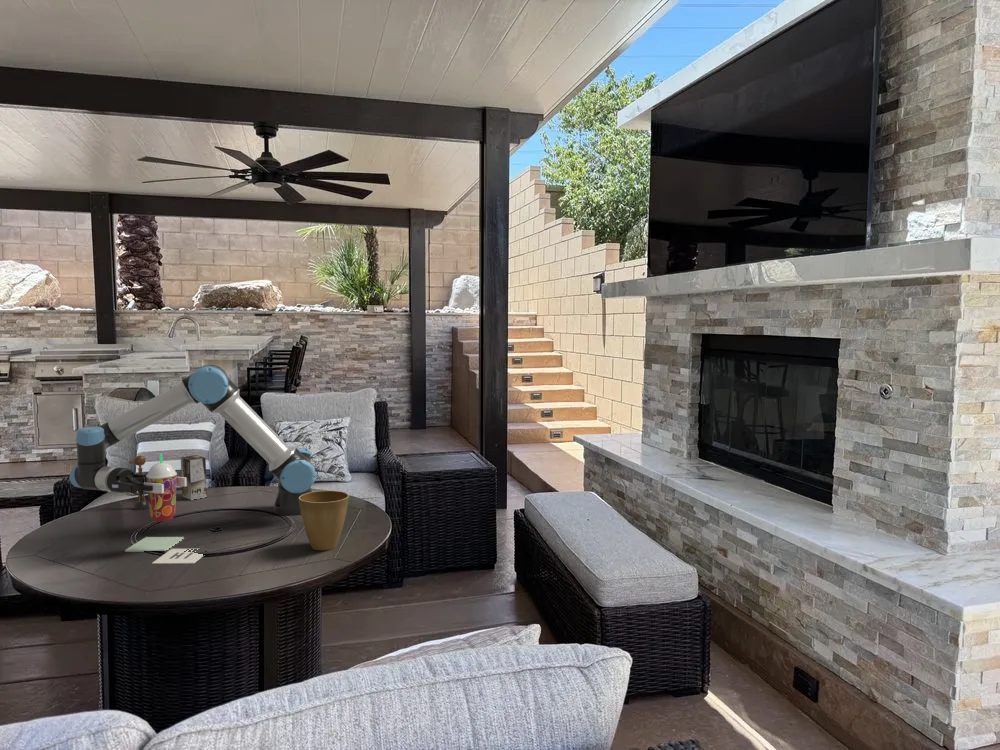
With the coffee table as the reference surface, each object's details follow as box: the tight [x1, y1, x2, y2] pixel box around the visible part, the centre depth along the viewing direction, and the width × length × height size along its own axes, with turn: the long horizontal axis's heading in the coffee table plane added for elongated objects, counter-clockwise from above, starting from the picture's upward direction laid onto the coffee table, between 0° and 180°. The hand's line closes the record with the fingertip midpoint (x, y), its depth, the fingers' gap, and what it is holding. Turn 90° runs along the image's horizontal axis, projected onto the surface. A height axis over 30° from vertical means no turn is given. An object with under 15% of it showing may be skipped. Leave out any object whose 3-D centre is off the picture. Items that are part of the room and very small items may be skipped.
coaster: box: [124, 536, 185, 553], centre depth 204 cm, size 12×12×1 cm
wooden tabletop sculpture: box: [128, 455, 150, 511], centre depth 244 cm, size 6×5×20 cm
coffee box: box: [180, 454, 208, 501], centre depth 260 cm, size 9×6×16 cm
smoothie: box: [146, 453, 178, 522], centre depth 199 cm, size 8×8×20 cm
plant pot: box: [299, 490, 350, 551], centre depth 203 cm, size 15×15×16 cm
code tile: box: [151, 548, 204, 565], centre depth 195 cm, size 12×12×1 cm
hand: (174, 485), depth 197 cm, fingers closed on smoothie, 8 cm apart
